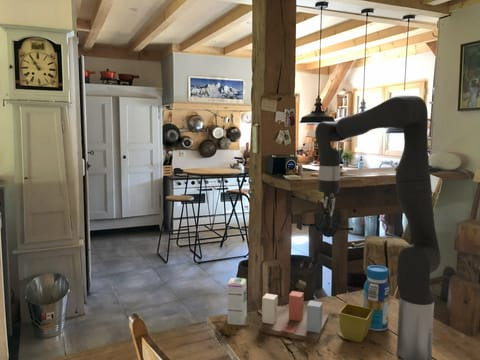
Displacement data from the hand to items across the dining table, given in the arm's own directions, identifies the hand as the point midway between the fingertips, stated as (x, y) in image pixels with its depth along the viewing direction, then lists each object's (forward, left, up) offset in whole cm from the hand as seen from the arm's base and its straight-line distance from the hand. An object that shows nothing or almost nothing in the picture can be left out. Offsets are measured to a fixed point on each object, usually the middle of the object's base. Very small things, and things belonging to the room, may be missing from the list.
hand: (327, 226), depth 149 cm
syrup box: (+26, +22, -31) cm, 46 cm away
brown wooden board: (+7, +17, -31) cm, 36 cm away
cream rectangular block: (+15, +21, -29) cm, 39 cm away
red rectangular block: (+7, +15, -29) cm, 34 cm away
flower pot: (-13, +18, -31) cm, 38 cm away
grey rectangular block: (0, +21, -29) cm, 36 cm away
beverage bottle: (-18, +7, -31) cm, 37 cm away
